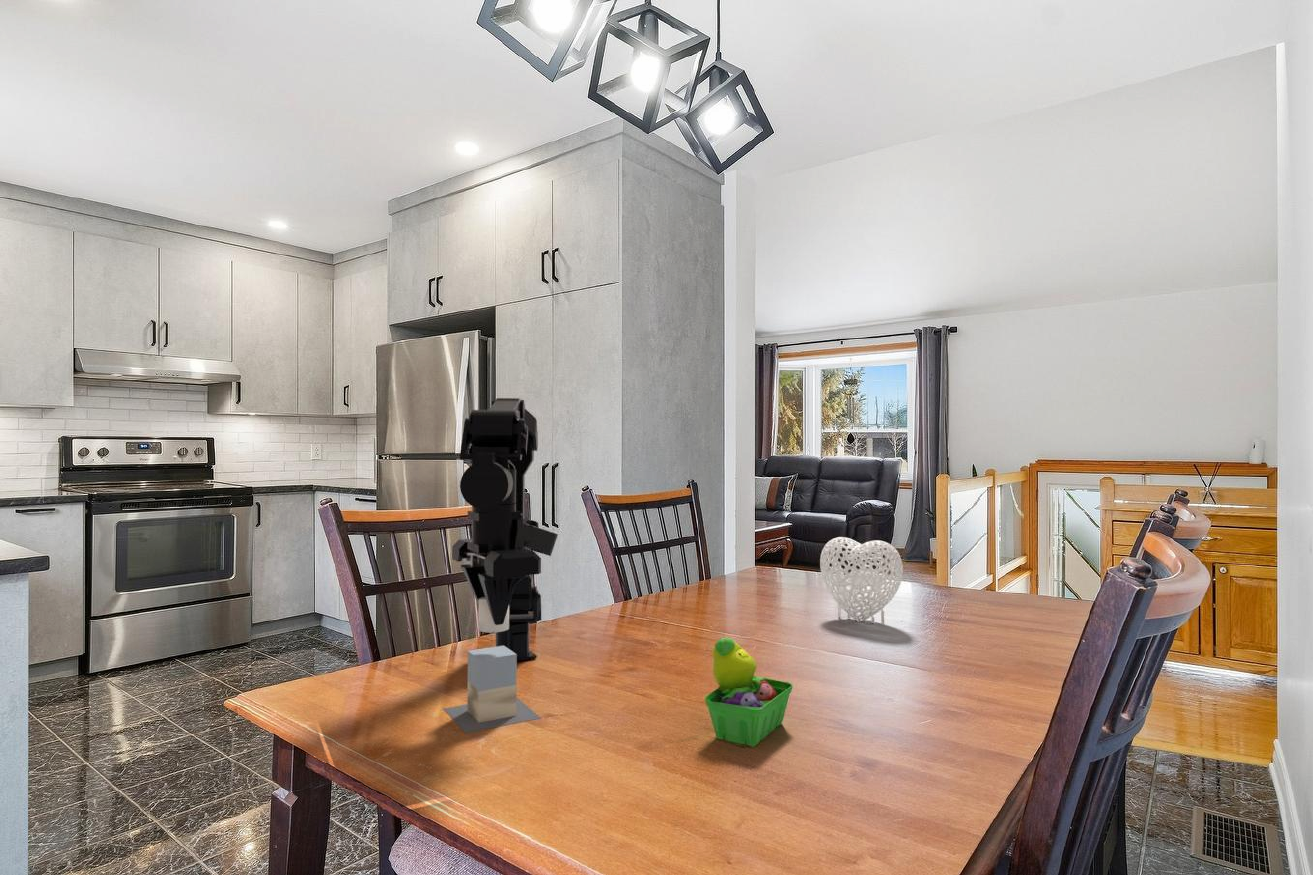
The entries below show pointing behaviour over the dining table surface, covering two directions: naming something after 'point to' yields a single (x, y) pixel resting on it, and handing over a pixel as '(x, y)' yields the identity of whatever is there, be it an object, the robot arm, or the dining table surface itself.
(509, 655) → the top block
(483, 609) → the white cylinder
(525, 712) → the mat
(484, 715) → the bottom block
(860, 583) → the decorative heart
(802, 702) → the dining table surface
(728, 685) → the fruit basket
